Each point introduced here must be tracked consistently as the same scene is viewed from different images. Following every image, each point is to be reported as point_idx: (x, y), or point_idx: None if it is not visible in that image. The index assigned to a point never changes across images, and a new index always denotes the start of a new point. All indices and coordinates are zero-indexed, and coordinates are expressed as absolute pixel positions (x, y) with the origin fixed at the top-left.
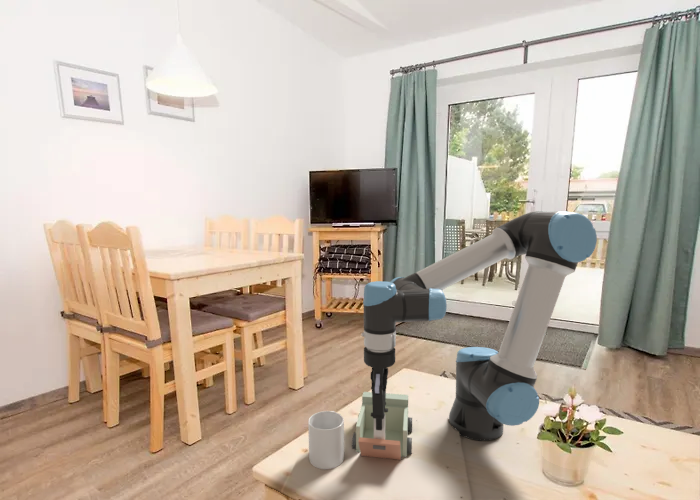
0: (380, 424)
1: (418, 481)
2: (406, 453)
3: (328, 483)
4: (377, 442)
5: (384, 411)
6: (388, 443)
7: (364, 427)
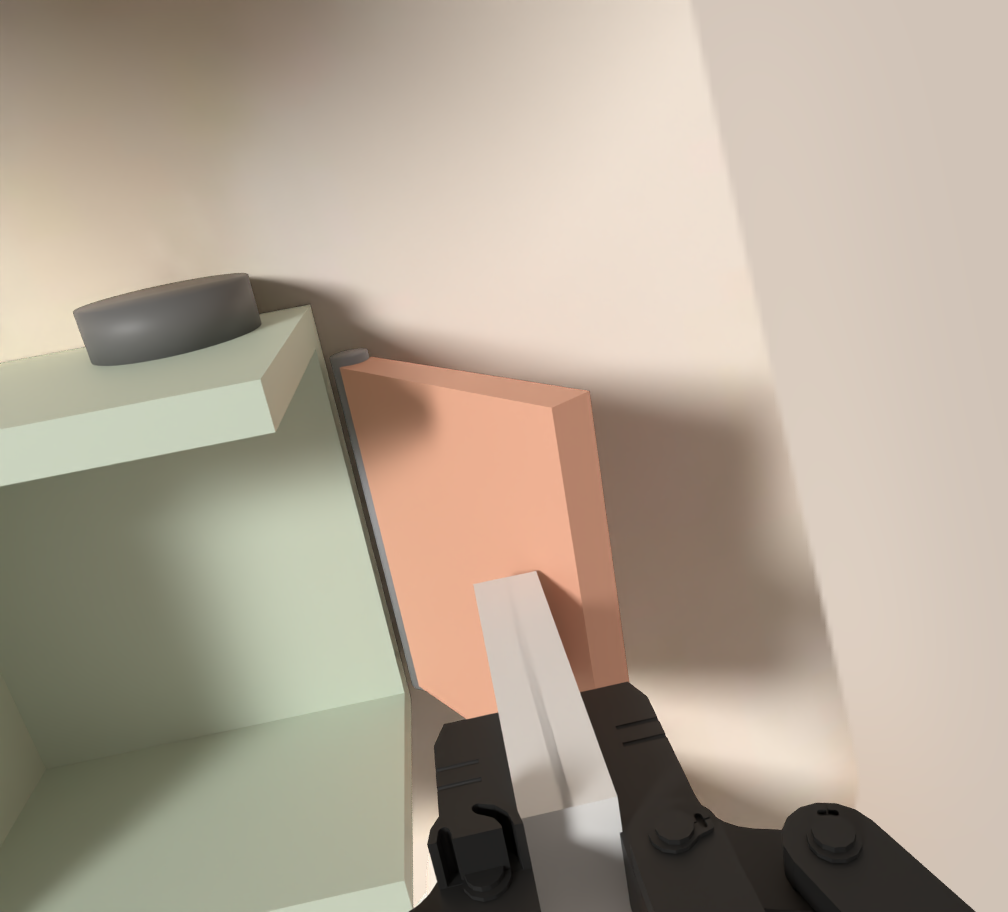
0: (670, 756)
1: (557, 141)
2: (302, 320)
3: (751, 741)
4: (618, 634)
5: (524, 857)
6: (600, 523)
7: (90, 789)
